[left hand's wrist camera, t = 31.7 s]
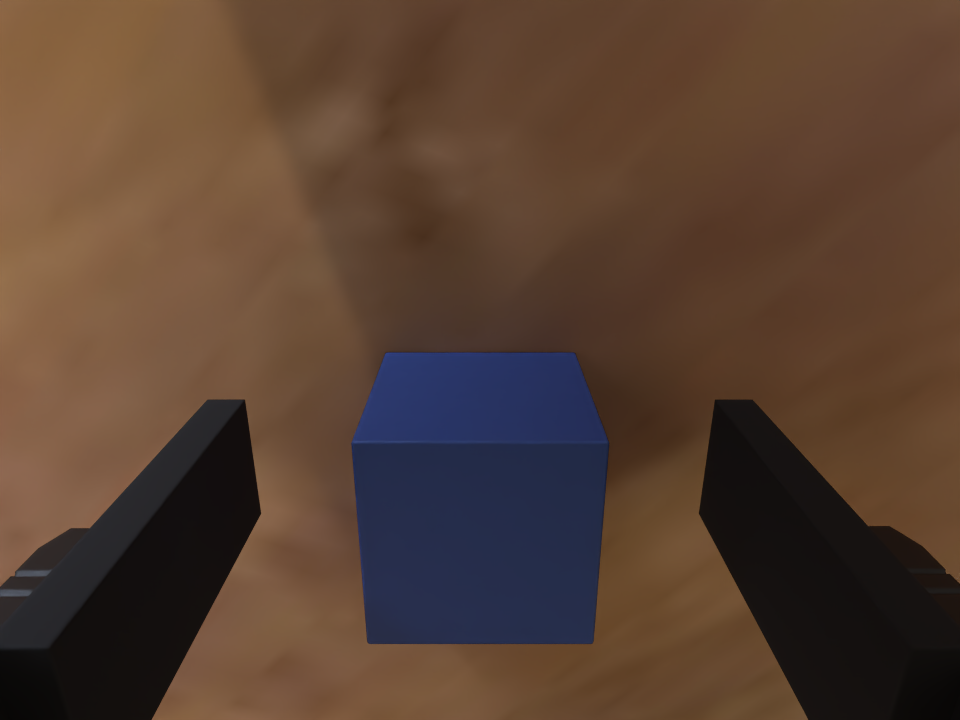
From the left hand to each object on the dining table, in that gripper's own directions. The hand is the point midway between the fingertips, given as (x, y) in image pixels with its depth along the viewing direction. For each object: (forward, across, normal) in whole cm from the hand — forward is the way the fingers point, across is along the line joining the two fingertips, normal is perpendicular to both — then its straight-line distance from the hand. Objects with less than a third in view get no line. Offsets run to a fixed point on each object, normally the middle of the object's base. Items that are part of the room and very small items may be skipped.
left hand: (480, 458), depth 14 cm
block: (+1, 0, 0) cm, 1 cm away
